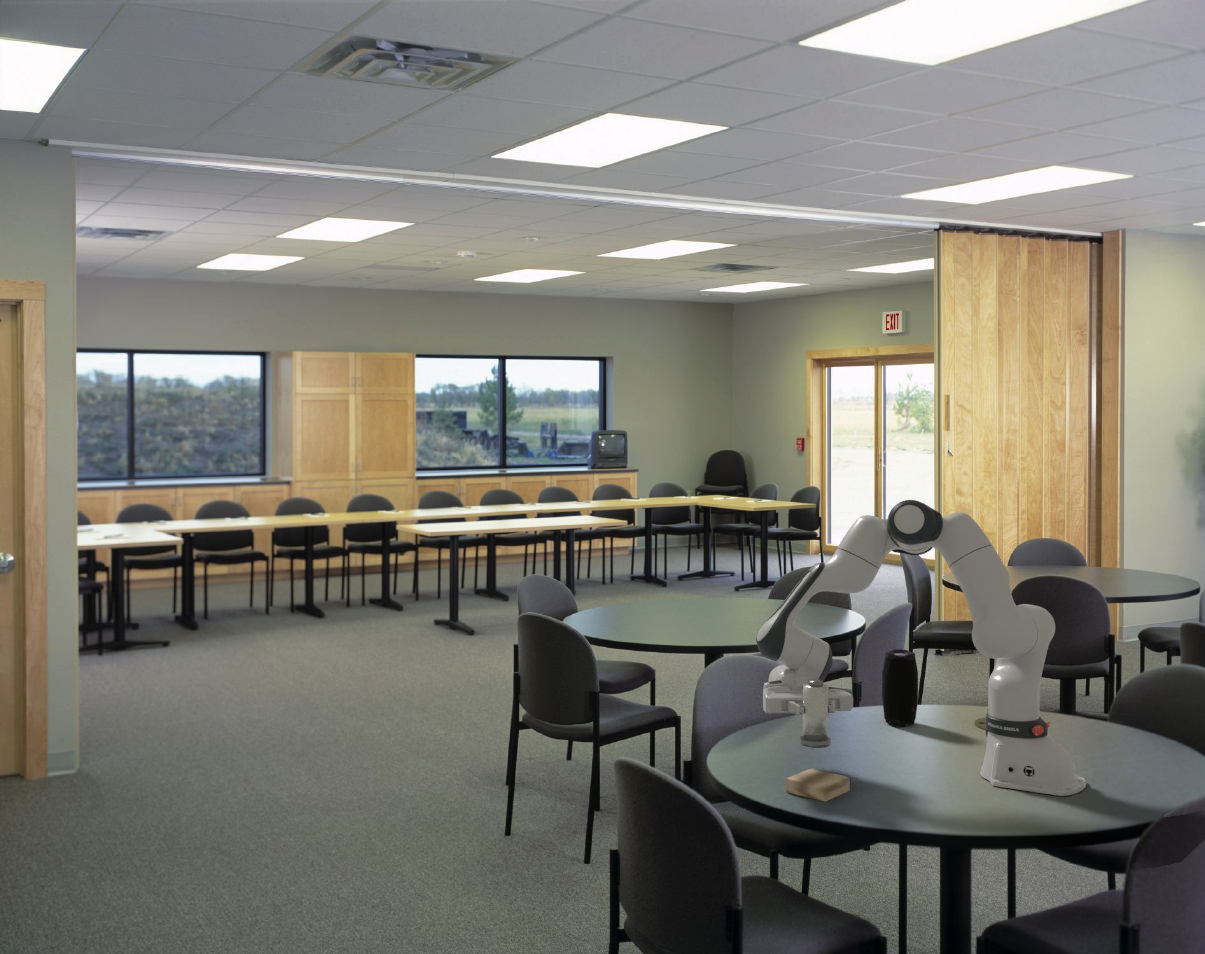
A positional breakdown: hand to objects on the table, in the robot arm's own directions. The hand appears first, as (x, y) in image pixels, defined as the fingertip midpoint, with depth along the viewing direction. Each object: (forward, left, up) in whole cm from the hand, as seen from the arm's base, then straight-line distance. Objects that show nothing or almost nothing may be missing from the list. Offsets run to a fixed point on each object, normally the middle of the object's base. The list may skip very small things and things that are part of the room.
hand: (816, 709), depth 253 cm
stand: (-1, +1, -18) cm, 18 cm away
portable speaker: (+13, -63, -18) cm, 67 cm away
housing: (+1, -1, -8) cm, 8 cm away
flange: (-9, -79, -19) cm, 82 cm away
